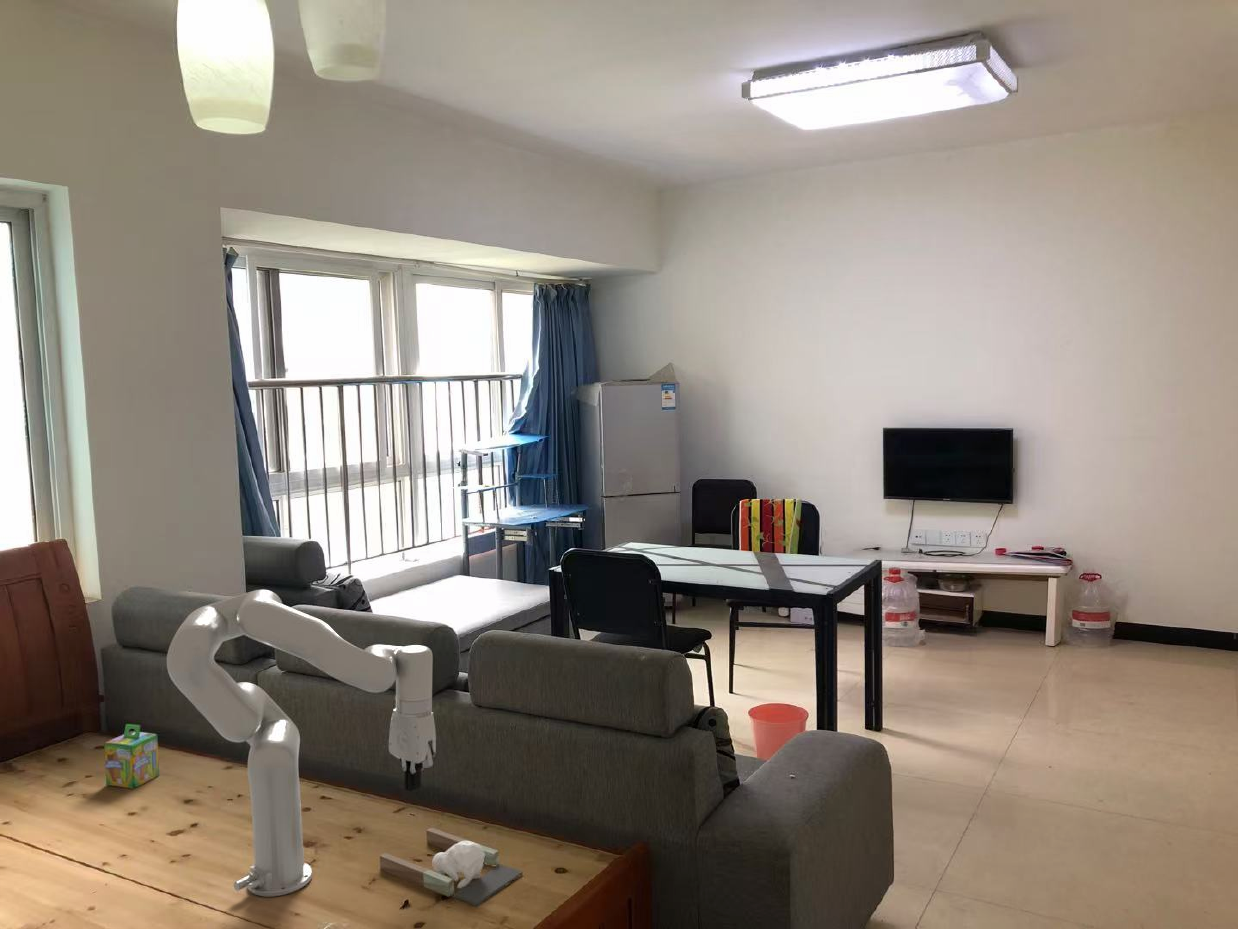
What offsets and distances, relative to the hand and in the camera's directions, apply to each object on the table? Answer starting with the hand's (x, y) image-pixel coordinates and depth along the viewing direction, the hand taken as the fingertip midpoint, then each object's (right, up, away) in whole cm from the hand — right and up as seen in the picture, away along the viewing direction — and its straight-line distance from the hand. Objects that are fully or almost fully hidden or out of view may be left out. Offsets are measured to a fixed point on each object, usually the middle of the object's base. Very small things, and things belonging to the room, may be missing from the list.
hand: (412, 788), depth 203 cm
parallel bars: (+6, -16, -1) cm, 17 cm away
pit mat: (+18, -17, -9) cm, 26 cm away
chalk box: (-83, -14, +47) cm, 97 cm away
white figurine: (+10, -17, -6) cm, 21 cm away
